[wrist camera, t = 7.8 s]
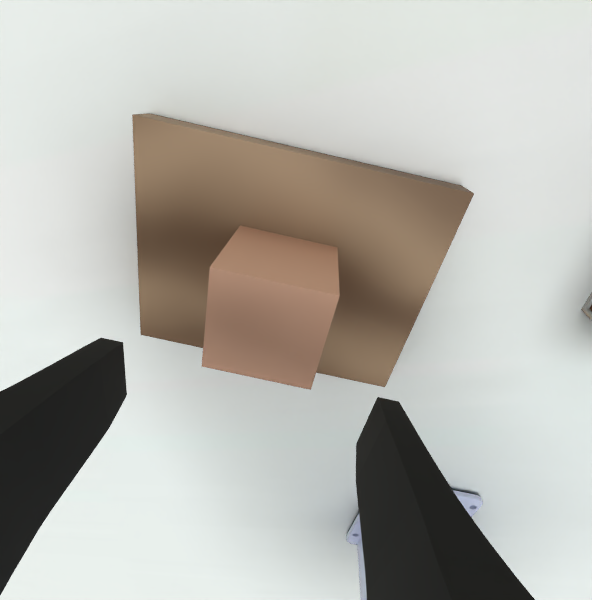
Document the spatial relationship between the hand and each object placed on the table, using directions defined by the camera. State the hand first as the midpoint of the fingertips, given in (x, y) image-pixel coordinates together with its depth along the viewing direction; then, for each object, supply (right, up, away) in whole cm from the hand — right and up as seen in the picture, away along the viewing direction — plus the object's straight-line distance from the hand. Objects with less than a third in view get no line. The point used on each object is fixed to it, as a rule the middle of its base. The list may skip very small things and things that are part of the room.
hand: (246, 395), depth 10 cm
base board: (+1, +5, +8) cm, 9 cm away
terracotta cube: (+1, +4, +7) cm, 8 cm away
